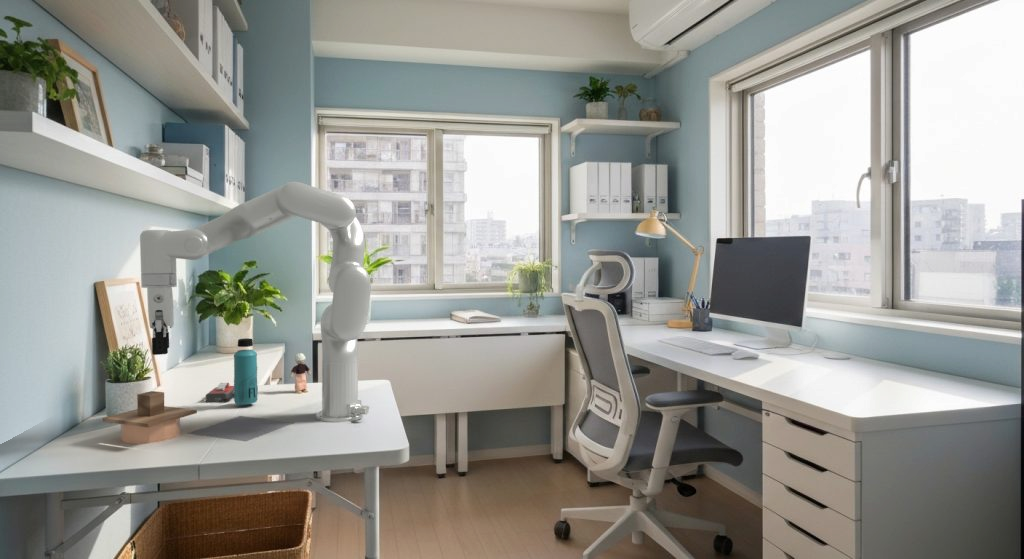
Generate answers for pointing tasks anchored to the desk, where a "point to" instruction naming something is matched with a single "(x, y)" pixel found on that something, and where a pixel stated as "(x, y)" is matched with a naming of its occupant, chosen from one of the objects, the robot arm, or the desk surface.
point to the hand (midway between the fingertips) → (161, 351)
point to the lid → (150, 411)
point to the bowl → (150, 432)
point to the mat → (241, 428)
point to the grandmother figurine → (300, 374)
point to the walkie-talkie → (220, 393)
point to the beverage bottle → (245, 374)
